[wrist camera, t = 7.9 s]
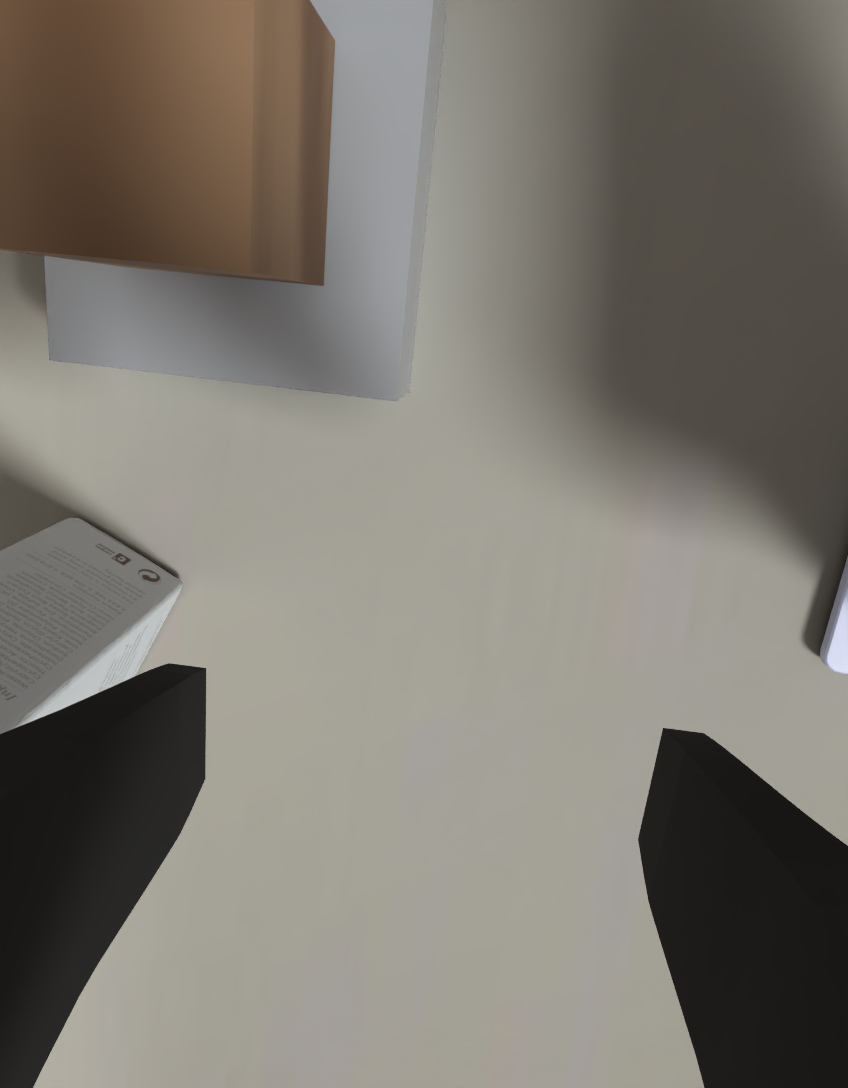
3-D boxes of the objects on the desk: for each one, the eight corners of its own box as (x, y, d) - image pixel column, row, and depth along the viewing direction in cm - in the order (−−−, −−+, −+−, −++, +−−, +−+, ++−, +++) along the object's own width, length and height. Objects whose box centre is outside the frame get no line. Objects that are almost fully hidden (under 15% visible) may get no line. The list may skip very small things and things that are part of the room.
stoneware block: (447, 24, 18) (436, -35, 15) (411, 391, 20) (396, 401, 17) (102, -3, 18) (27, -64, 15) (111, 356, 21) (49, 360, 18)
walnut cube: (334, 40, 15) (255, -86, 11) (323, 286, 17) (249, 272, 12) (114, 25, 16) (-57, -103, 11) (123, 266, 17) (-25, 245, 13)
